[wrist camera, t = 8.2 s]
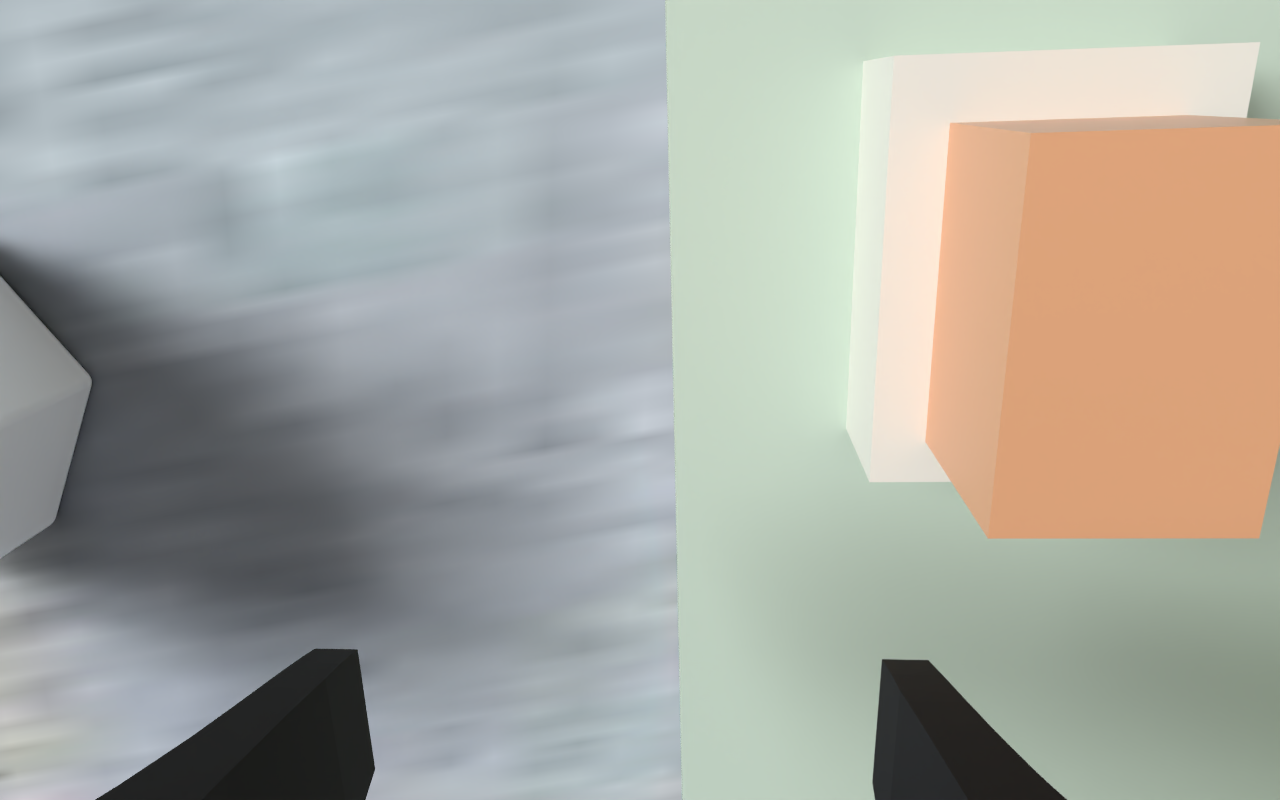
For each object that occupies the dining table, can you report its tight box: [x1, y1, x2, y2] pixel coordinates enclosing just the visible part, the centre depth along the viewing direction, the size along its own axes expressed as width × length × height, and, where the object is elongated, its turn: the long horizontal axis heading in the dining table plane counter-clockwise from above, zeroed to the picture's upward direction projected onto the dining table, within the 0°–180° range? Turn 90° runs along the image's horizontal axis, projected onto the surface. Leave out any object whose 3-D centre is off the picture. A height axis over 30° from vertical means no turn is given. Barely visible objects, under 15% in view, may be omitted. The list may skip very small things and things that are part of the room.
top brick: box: [925, 115, 1280, 539], centre depth 14 cm, size 6×4×4 cm, turn 2°
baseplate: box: [665, 0, 1280, 800], centre depth 21 cm, size 22×16×1 cm
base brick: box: [846, 42, 1260, 482], centre depth 18 cm, size 8×6×3 cm
